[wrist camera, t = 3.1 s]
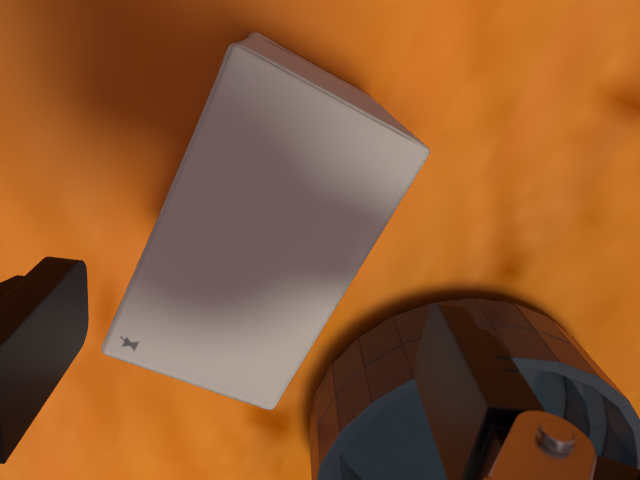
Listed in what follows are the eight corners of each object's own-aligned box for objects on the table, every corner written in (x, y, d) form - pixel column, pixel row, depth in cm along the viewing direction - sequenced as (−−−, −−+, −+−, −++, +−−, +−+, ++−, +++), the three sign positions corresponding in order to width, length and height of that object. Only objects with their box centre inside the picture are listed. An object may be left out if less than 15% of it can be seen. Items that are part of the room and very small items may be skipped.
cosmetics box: (280, 276, 27) (274, 421, 17) (164, 226, 25) (87, 354, 16) (379, 97, 23) (441, 153, 14) (252, 26, 22) (221, 33, 12)
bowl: (291, 498, 34) (291, 591, 28) (336, 273, 27) (348, 339, 21) (531, 515, 36) (574, 606, 30) (629, 309, 29) (709, 378, 23)
